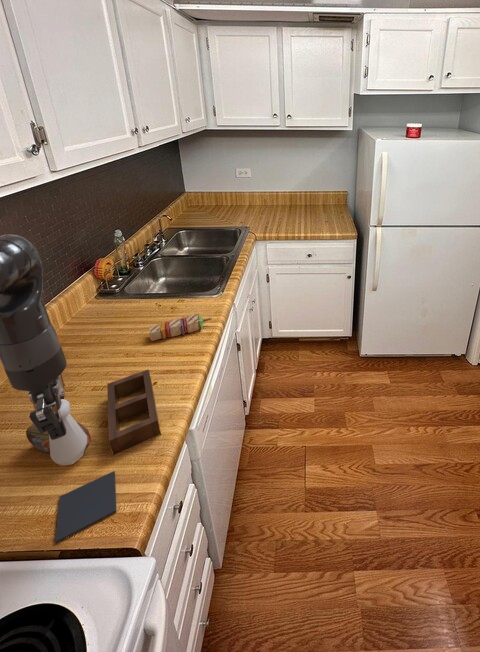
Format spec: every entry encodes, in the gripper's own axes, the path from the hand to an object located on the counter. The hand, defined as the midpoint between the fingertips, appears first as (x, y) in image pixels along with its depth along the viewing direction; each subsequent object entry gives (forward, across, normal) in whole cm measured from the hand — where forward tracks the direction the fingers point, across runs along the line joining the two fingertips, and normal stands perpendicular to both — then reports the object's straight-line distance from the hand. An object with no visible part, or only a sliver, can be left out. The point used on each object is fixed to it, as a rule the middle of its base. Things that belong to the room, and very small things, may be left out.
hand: (60, 425), depth 61 cm
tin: (+22, -16, -5) cm, 28 cm away
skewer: (+22, -46, +28) cm, 58 cm away
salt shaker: (+8, 0, 0) cm, 8 cm away
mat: (+22, +1, 0) cm, 22 cm away
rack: (+22, -18, +10) cm, 30 cm away
